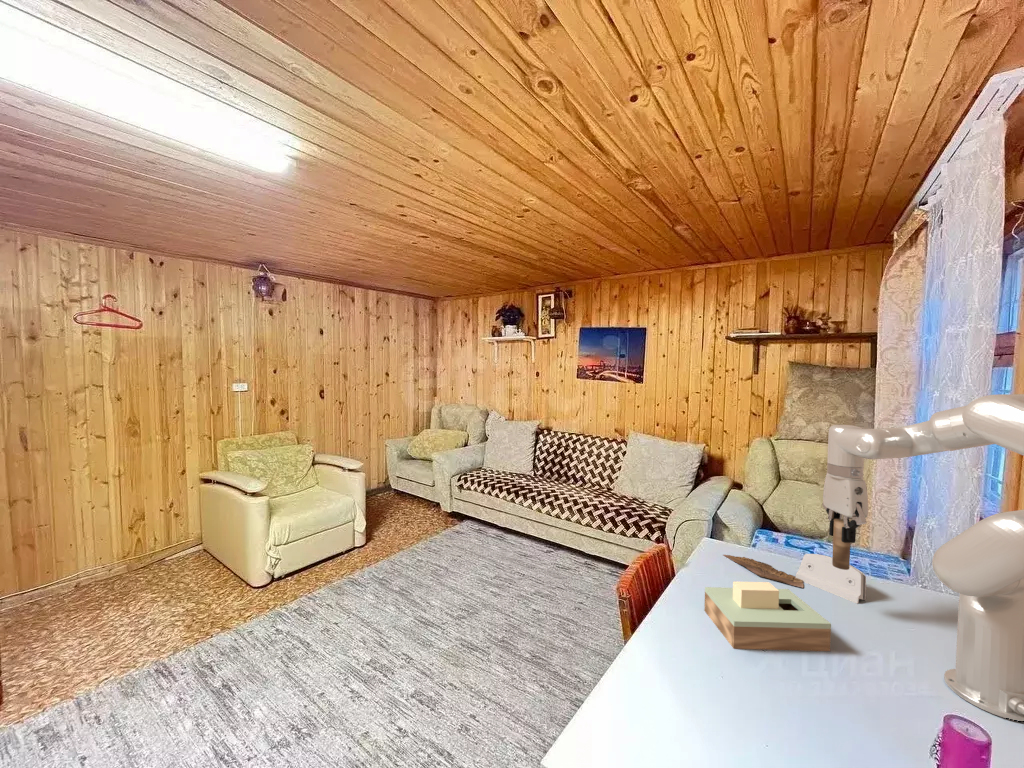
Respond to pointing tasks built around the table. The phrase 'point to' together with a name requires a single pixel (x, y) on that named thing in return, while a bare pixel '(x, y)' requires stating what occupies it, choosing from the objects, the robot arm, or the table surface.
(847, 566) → the pin
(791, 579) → the wooden fragment
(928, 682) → the table surface
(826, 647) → the box with square hole
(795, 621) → the lid
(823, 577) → the white curved device casing
